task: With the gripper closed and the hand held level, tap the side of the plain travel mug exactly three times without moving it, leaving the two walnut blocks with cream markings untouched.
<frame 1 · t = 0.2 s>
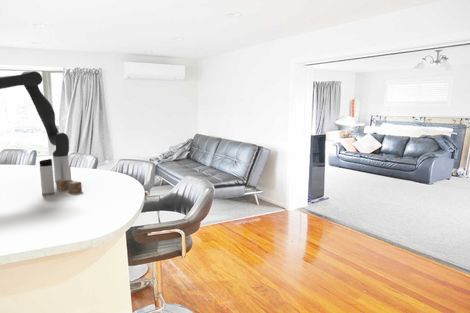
walnut block one: (75, 192, 191), on the table
walnut block two: (63, 190, 197), on the table
travel mug: (48, 194, 187), on the table
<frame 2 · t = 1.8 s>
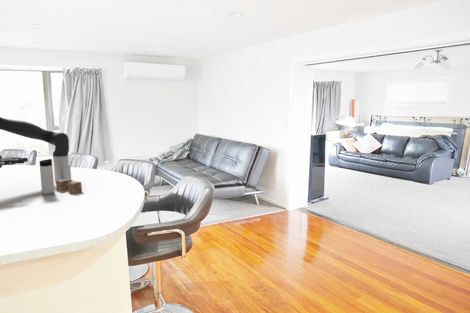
hand: (25, 160, 182), 20 cm above the table, tool horizontal, fingers open, 5 cm apart
nothing on the table moved.
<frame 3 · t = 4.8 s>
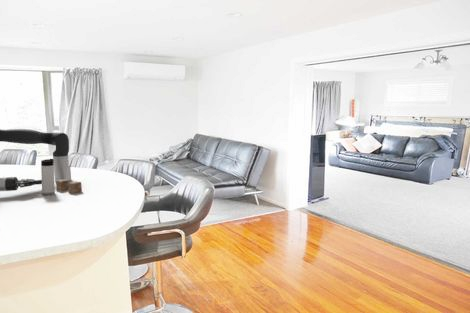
hand: (41, 181, 186), 7 cm above the table, tool horizontal, fingers closed
travel mug: (48, 194, 187), on the table, touching gripper
everything else where it was.
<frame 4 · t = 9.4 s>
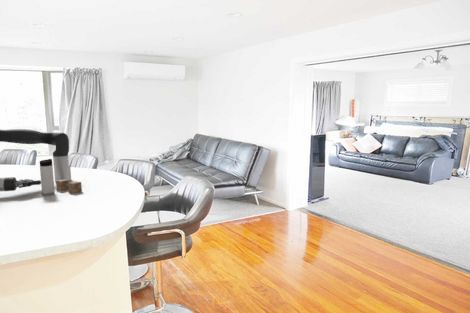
hand: (40, 182, 185), 7 cm above the table, tool horizontal, fingers closed
travel mug: (48, 194, 187), on the table
everything else where it was.
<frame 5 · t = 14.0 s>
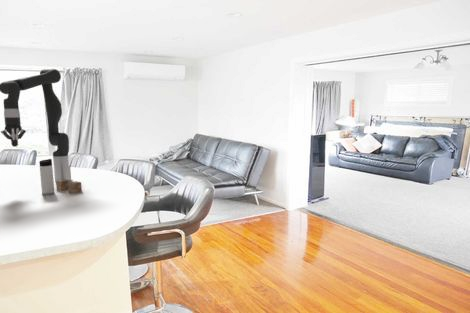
hand: (15, 146, 190), 27 cm above the table, tool pointing down, fingers closed
nothing on the table moved.
at the end: travel mug moved 0.2 cm from its start; travel mug tilted 0°; walnut block two moved 0.1 cm from its start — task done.
